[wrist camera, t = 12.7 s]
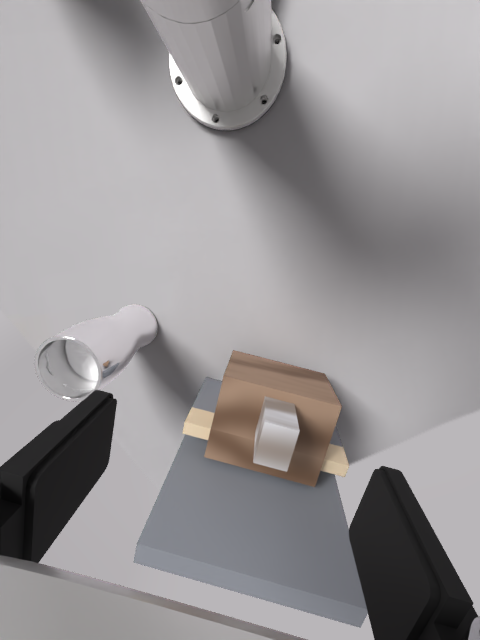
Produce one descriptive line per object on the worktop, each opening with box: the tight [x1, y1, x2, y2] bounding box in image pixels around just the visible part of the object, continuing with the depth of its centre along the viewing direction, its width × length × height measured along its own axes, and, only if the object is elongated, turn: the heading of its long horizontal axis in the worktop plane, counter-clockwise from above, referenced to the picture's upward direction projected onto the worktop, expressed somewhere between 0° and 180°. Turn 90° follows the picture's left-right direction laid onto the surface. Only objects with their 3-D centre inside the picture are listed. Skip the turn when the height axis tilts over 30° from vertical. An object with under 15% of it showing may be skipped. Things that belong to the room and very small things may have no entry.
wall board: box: [134, 377, 368, 627], centre depth 33 cm, size 6×18×22 cm, turn 77°
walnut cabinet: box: [204, 350, 342, 487], centre depth 33 cm, size 9×12×14 cm
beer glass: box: [34, 304, 158, 402], centre depth 36 cm, size 7×7×15 cm
